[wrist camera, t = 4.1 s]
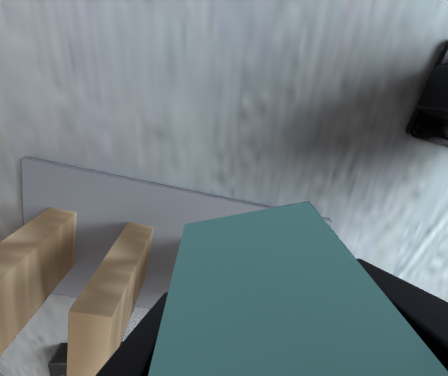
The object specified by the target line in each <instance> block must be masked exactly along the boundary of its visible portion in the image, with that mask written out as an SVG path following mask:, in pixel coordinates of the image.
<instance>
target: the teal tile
mask: <svg viewBox="0 0 448 376" xmlns="http://www.w3.org/2000/svg"><path fill="white" fill-rule="evenodd" d="M148 376H448V371H447V370H446V369H445V367H444V366H443V365H442V364H441V363H440V361H439V360H438V359H437V358H436V356H435V355H434V354H433V353H432V352H431V350H430V349H429V348H428V347H427V345H426V344H425V343H424V342H423V340H422V339H421V338H420V337H419V336H418V334H417V333H416V332H415V331H414V329H413V328H412V327H411V326H410V325H409V323H408V322H407V321H406V320H405V318H404V317H403V316H402V315H401V314H400V312H399V311H398V310H397V309H396V307H395V306H394V305H393V304H392V302H391V301H390V300H389V299H388V298H387V296H386V295H385V294H384V293H383V291H382V290H381V289H380V288H379V287H378V285H377V284H376V283H375V282H374V280H373V279H372V278H371V277H370V276H369V274H368V273H367V272H366V271H365V269H364V268H363V267H362V266H361V264H360V263H359V262H358V261H357V260H356V258H355V257H354V256H353V255H352V253H351V252H350V251H349V250H348V249H347V247H346V246H345V245H344V244H343V242H342V241H341V240H340V239H339V238H338V236H337V235H336V234H335V233H334V231H333V230H332V229H331V228H330V226H329V225H328V224H327V223H326V222H325V220H324V219H323V218H322V217H321V215H320V214H319V213H318V212H317V211H316V209H315V208H314V207H313V206H312V204H311V203H310V202H309V201H307V202H302V203H296V204H291V205H285V206H280V207H274V208H269V209H263V210H258V211H252V212H247V213H242V214H236V215H231V216H225V217H220V218H214V219H209V220H203V221H198V222H192V223H187V224H185V225H184V229H183V233H182V237H181V242H180V246H179V250H178V254H177V258H176V262H175V266H174V270H173V275H172V279H171V283H170V287H169V291H168V295H167V299H166V304H165V308H164V312H163V316H162V320H161V324H160V328H159V332H158V337H157V341H156V345H155V349H154V353H153V357H152V361H151V365H150V370H149V374H148Z"/></svg>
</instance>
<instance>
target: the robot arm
mask: <svg viewBox="0 0 448 376" xmlns="http://www.w3.org/2000/svg"><path fill="white" fill-rule="evenodd" d="M415 127H416V128H417V129H416V131H415V132H413V130H414V128H415ZM406 133H407V135H409V136H411V137H415V138H419V139H423V140H427V141H431V142H436V143H440V144H444V145H448V42H447V43H446V45H445V47H444V49H443V51H442V53H441V55H440V57H439V60H438V62H437V64H436V66H435V68H434V69H433V71H432V74H431V76H430V78H429V80H428V82H427V84H426V87H425V89H424V91H423V93H422V95H421V97H420V100H419V102H418V104H417V107H416V109H415V111H414V114H413V116H412V118H411V120H410V122H409V124H408V126H407V129H406ZM356 260H357V261H358V262H359V263H360V264H361V266H362V267H363V268H364V269H365V271H366V272H367V273H368V274H369V276H370V277H371V278H372V279H373V280H374V282H375V283H376V284H377V285H378V287H379V288H380V289H381V290H382V291H383V293H384V294H385V295H386V296H387V298H388V299H389V300H390V301H391V302H392V304H393V305H394V306H395V307H396V309H397V310H398V311H399V312H400V314H401V315H402V316H403V317H404V318H405V320H406V321H407V322H408V323H409V325H410V326H411V327H412V328H413V329H414V331H415V332H416V333H417V334H418V336H419V337H420V338H421V339H422V340H423V342H424V343H425V344H426V345H427V347H428V348H429V349H430V350H431V352H432V353H433V354H434V355H435V356H436V358H437V359H438V360H439V361H440V363H441V364H442V365H443V366H444V367H445V369H446V370H447V371H448V302H446V301H444V300H442V299H440V298H438V297H436V296H434V295H432V294H430V293H428V292H426V291H424V290H422V289H420V288H418V287H416V286H414V285H412V284H410V283H408V282H406V281H404V280H402V279H400V278H398V277H396V276H394V275H392V274H390V273H388V272H386V271H384V270H382V269H380V268H378V267H376V266H374V265H372V264H370V263H368V262H366V261H364V260H362V259H356ZM167 295H168V292H165V293H164V294H163V295H162V296H161V297H160V298H159V300H158V301H157V302H156V303H155V304H154V306H153V307H152V308H151V309H150V310H149V312H148V313H147V314H146V315H145V316H144V318H143V319H142V320H141V321H140V322H139V324H138V325H137V326H136V327H135V328H134V330H133V331H132V332H131V333H130V334H129V336H128V337H127V338H126V339H125V340H124V342H123V343H122V344H121V345H120V346H119V348H118V349H117V350H116V351H115V352H114V354H113V355H112V356H111V357H110V358H109V360H108V361H107V362H106V363H105V364H104V366H103V367H102V368H101V369H100V370H99V372H98V373H97V374H96V375H95V376H148V374H149V370H150V365H151V361H152V357H153V353H154V349H155V345H156V341H157V337H158V332H159V328H160V324H161V320H162V316H163V312H164V308H165V304H166V299H167Z"/></svg>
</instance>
